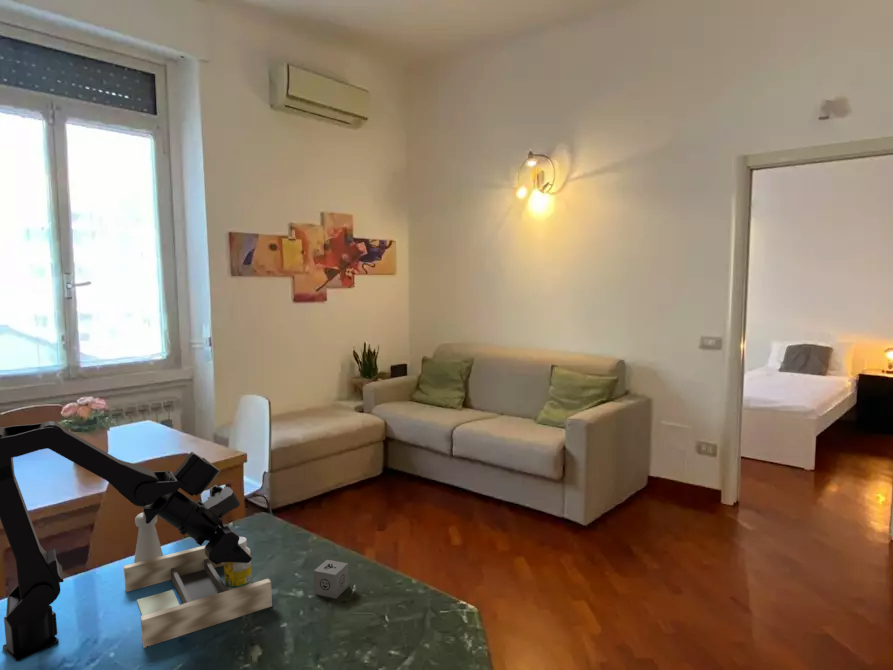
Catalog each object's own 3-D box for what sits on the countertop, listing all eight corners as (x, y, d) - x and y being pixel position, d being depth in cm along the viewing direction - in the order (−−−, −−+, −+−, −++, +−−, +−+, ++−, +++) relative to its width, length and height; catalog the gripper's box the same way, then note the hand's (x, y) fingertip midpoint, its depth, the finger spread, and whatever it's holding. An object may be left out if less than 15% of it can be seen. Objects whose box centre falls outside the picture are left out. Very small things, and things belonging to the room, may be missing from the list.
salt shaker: (169, 565, 133) (166, 508, 132) (154, 578, 128) (151, 519, 126) (144, 564, 134) (141, 508, 133) (128, 577, 128) (124, 518, 127)
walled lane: (143, 647, 104) (141, 620, 103) (125, 589, 123) (123, 565, 123) (271, 606, 117) (271, 581, 116) (236, 558, 136) (235, 537, 136)
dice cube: (327, 582, 126) (326, 559, 125) (348, 586, 124) (348, 563, 123) (314, 594, 121) (313, 570, 120) (336, 598, 119) (335, 574, 119)
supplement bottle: (254, 587, 124) (252, 542, 123) (226, 594, 121) (224, 548, 120) (249, 576, 128) (247, 532, 127) (223, 582, 126) (220, 538, 125)
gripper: (225, 492, 112) (284, 534, 120) (201, 467, 128) (255, 505, 135) (182, 544, 109) (246, 583, 116) (163, 511, 124) (221, 548, 131)
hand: (243, 552), depth 125 cm, fingers open, 9 cm apart
